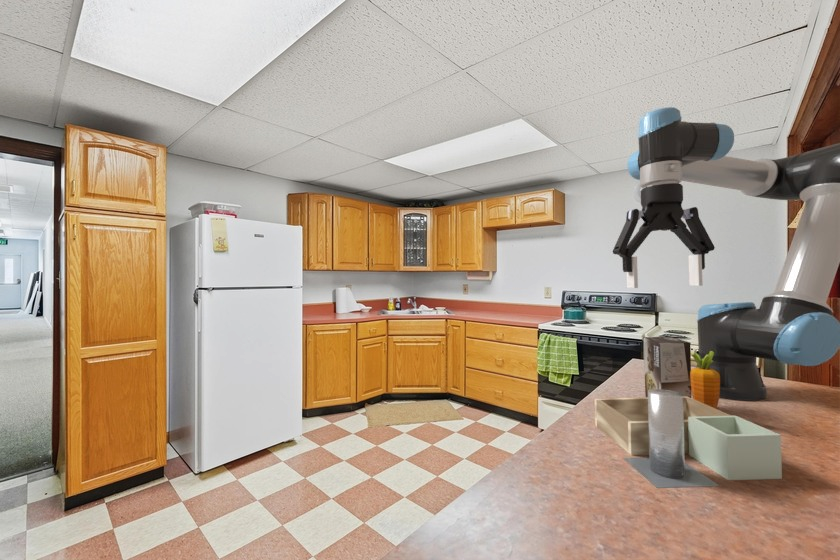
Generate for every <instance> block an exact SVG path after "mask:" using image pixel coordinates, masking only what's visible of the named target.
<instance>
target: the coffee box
mask: <svg viewBox="0 0 840 560" xmlns="http://www.w3.org/2000/svg"><path fill="white" fill-rule="evenodd" d="M691 354H692V353H691V342H689V341H687V340H683V339H679V338H676V337H673V336H652V337H651V336H649V337H647V336H645V337H643V363H644V365H643V366H644V389H645V390H644V392H645V397H644V398H646V397H648V390H651V389H663V390H671V391H675V392H678V393H681V394H682V395H683V396H687V397H690V398H692V391H691V378H690V372H691V370H692V365H691V364H692V360H691V359H692V357H691V356H692V355H691Z"/></svg>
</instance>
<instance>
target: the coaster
mask: <svg viewBox="0 0 840 560" xmlns="http://www.w3.org/2000/svg"><path fill="white" fill-rule="evenodd" d="M622 459H623V460H624V461H625V462H626V463H627V464H629V465H630V467H632V468H633V469H635V471H637V472H638V473H639V474H640V475H641V476H642V477H643V478H645V479H646V481H649V482H650V484H652V485H653V486H654V487H655V488H656V489H669V488H672V489H673V488H704V487H705V488H706V487H709V488H710V487H720V485H719V484H717V483H716V482H715V481H713V480H712V479H710V478H709V477H707V476H706V475H705V474H703V473H701V472H700V471H698V470H697V469H696V468H694V467H693V466H691V465H689V464H688V463H686V462H685V476H684V477H683V478H668V477H664V476H661V475H658V474H656V473H654V472H653V471H651V469H650V464H649V457H623V458H622Z"/></svg>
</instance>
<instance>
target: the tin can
mask: <svg viewBox="0 0 840 560" xmlns="http://www.w3.org/2000/svg"><path fill="white" fill-rule="evenodd" d="M648 421H649V455H648V456H649V464H650V469H651V471H653V472H654V473H656V474H658V475H661V476H664V477H668V478H683V477H684V476H685V463H686V461H685V454H684V414H683V395H682V394H681V393H678V392H675V391H671V390H663V389H651V390H648Z"/></svg>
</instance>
